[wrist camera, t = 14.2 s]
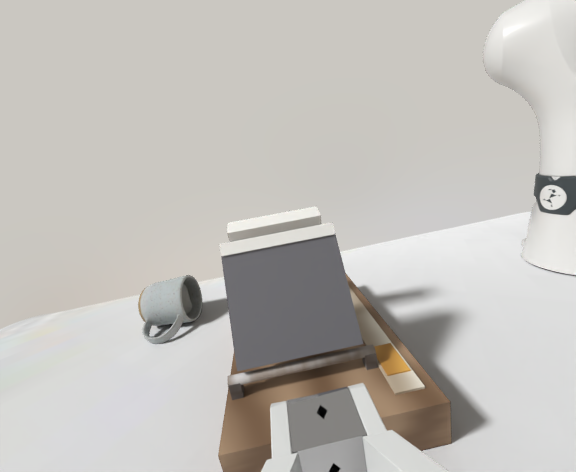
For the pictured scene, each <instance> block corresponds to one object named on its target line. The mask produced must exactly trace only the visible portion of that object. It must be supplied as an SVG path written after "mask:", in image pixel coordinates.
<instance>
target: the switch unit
mask: <svg viewBox="0 0 576 472" xmlns="http://www.w3.org/2000/svg"><path fill="white" fill-rule="evenodd" d="M345 274H346V273H345ZM346 278H347V282H348V286H349V290H350V293H351V297H352V301H353V305H354V309H355V313H356V317H357V321H358V325H359V328H360V332H361V336H362V340H363V344H361V345H356V346H352V347H347V348H343V349H338V350H333V351H329V352H324V353H320V354H315V355H310V356H306V357H301V358H297V359H292V360H287V361H283V362H278V363H274V364H269V365H265V366H260V367H255V368H251V369H246V370H242V371H237V367H236V360H235V352H234V356H233V362H232V369H231V375H230V376H228V387H229V388H228V395H227V401H226V408H225V415H224V421H223V428H222V434H221V441H220V447H219V454H218V457H219V460H220V463H221V466H222V469H223V472H261V470H262V468H263V466H264V464H265V462H266V460H268V459H272V448H271V419H270V407H271V404H272V403H277V402H282V401H287V400H290V399H295V398H300V397H305V396H310V395H315V394H318V393H322V392H326V391H330V390H335V389H339V388H343V387H348V386H351V385H355V384H360V383H363V384H364V385H365V386H366V388H367V390H368V392H369V394H370V396H371V398H372V401H373V403H374V405H375V407H376V409H377V411H378V413H379V415H380V417H381V419H382V421H383V423H384V425H385V427H386V429H387V431H388V430H393V431H395V432H396V433H397V434H399V435H400V436H401V437H403V438H404V439H405V440H407V441H408V442H410V443H411V444H412V445H414V446H415V447H416V448H418V449H419V450H420V451H421V450H426V449H430V448H434V447H438V446H442V445H446V444H451V409H450V401H449V399H448V398H447V397H446V396H445V395H444V393H443V392H442V391H441V390H440V388H439V387H438V386H437V385H436V384H435V382H434V381H433V380H432V379H431V377H430V376H429V375H428V374H427V373H426V371H425V370H424V369H423V368H422V366H421V365H420V364H419V363H418V361H417V360H416V359H415V358H414V357H413V355H412V354H411V353H410V352H409V350H408V349H407V348H406V347H405V346H404V344H403V343H402V342H401V341H400V339H399V338H398V337H397V336H396V335H395V333H394V332H393V331H392V330H391V328H390V327H389V326H388V325H387V323H386V322H385V321H384V320H383V319H382V317H381V316H380V315H379V314H378V312H377V311H376V310H375V309H374V308H373V306H372V305H371V304H370V303H369V301H368V300H367V299H366V298H365V297H364V295H363V294H362V293H361V292H360V290H359V289H358V288H357V287H356V285H355V284H354V283H353V282H352V281H351V279H350V278H349V277H348V276H347V274H346Z"/></svg>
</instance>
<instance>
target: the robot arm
mask: <svg viewBox="0 0 576 472" xmlns="http://www.w3.org/2000/svg"><path fill="white" fill-rule="evenodd" d="M483 63H484V67H485V70H486V72H487V74H488V75H489V76H490V77H491V78H492V79H493V80H494V81H495V82H497V83H499V84H501V85H504V86H506V87H508V88H510V89H512V90H514V91H515V92H517V93H519V94H520V95H521V96H522V97H523V98H524V99H525V100H526V101H527V102H528V103H529V105H530V106H531V107H532V109H533V110H534V113H535V115H536V117H537V120H538V125H539V132H540V170H539V173H538V174H537V175H536V179H535V182H534V186H535V187H534V196H535V197H536V199H537V201H536V203H534V205H533V207H532V211H531V216H530V221H529V226H528V231H527V236H526V239H523V240H522V247H523V251H522V253H521V256H522V258H523V259H524V260H526V261H527V262H529V263H531V264H533V265H535V266H538V267H541V268H544V269H548V270H551V271H556V272H560V273H565V274H571V275H576V0H524V1H523V2H521V3H519V4H517V5H516V6H514V7H512V8H510V9H509V10H507V11H505V12H503V13H502V14H501V15H500V17H499V18H498V19H497V20H496V22H495V23H494V25H493V26H492V28H491V30H490V32H489V34H488V36H487V38H486V41H485V45H484V49H483ZM270 419H271V448H272V459H268V460H266V462H265V464H264V466H263V468H262V470H261V472H449V471H448V470H446V469H445V468H444V467H442V466H441V465H440V464H438V463H437V462H435V461H434V460H433V459H431V458H430V457H429V456H427V455H426V454H425V453H423V452H422V451H420V450H419V449H418V448H416V447H415V446H414V445H412V444H411V443H410V442H408V441H407V440H405V439H404V438H403V437H401V436H400V435H399V434H397V433H396V432H395V431H393V430H388V431H387V429H386V427H385V425H384V423H383V421H382V419H381V417H380V415H379V413H378V411H377V409H376V407H375V405H374V403H373V401H372V398H371V396H370V394H369V392H368V390H367V388H366V386H365V385H364V384H363V383H360V384H355V385H351V386H348V387H343V388H339V389H335V390H330V391H326V392H322V393H318V394H315V395H310V396H305V397H300V398H295V399H290V400H287V401H282V402H277V403H272V404H271V407H270Z"/></svg>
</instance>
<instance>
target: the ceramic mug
mask: <svg viewBox="0 0 576 472" xmlns="http://www.w3.org/2000/svg"><path fill="white" fill-rule="evenodd" d="M138 307H139V313H140V315H141V317H142V319H143V320H144V321H145V323H144V326H143V335H144V337H145V338H146V339H147V340H148V341H149V342H150V343H153V344H160V343H164V342H166V341H168V340H169V339H171V338H172V337H173V336H174V335H175V334H176V333H177V332H178V330H179V329H180V327H181V325H182V323H185V322H192V321H195V320H196V319H197V318H198V317H199V315H200V313H201V309H202V295H201V290H200V287H199V285H198V283H197V281H196V280H195V278H194V277H192V276H190V275H186V276H183V277H179V278H175V279H170V280H167V281H162V282H158V283H154V284H152V285H150V286H148V287H146V288H145V289H144V290H143V291H142V293H141V295H140V298H139V302H138ZM168 324H173V325H172V326H171V328H170V329H169V330H168V331H167V332H165V333H164V334H162V335H161V336H159V337H154V336H149V334H150V333H149V332H150V329H151V326H161V325H168Z"/></svg>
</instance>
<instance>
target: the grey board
mask: <svg viewBox="0 0 576 472" xmlns="http://www.w3.org/2000/svg"><path fill="white" fill-rule="evenodd" d="M219 245H220V253H221V257H222V264H223V272H224V279H225V286H226V294H227V301H228V308H229V316H230V323H231V330H232V338H233V345H234V352H235V360H236V367H237V371H242V370H246V369H251V368H255V367H260V366H265V365H269V364H274V363H278V362H283V361H287V360H292V359H297V358H301V357H306V356H310V355H315V354H320V353H324V352H329V351H333V350H338V349H343V348H347V347H352V346H356V345H361V344H363V340H362V336H361V332H360V328H359V325H358V321H357V317H356V313H355V309H354V305H353V301H352V297H351V293H350V290H349V286H348V282H347V278H346V274H345V270H344V266H343V262H342V258H341V255H340V251H339V247H338V243H337V239H336V235H335V229H334V225H333V222H330V223H325V224H320V225H315V226H310V227H305V228H299V229H294V230H289V231H284V232H279V233H273V234H268V235H263V236H258V237H253V238H248V239H242V240H237V241H232V242H227V243H222V244H219Z"/></svg>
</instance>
